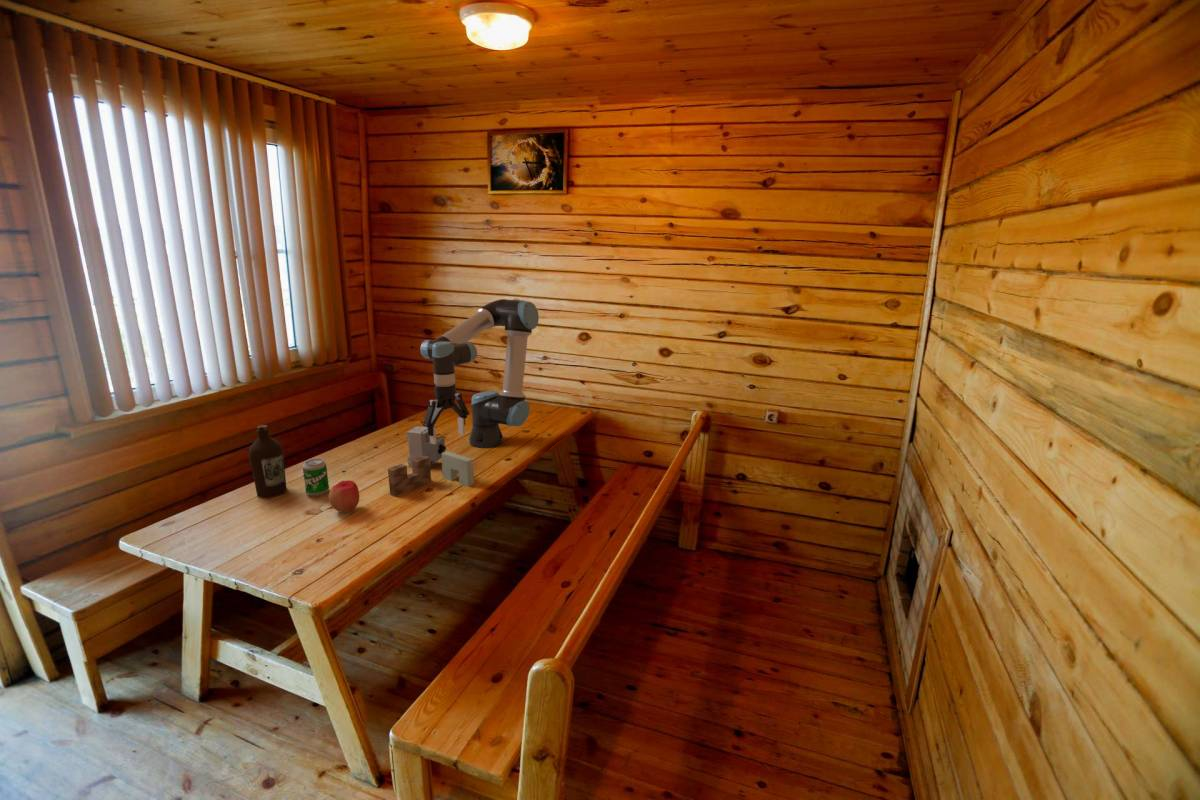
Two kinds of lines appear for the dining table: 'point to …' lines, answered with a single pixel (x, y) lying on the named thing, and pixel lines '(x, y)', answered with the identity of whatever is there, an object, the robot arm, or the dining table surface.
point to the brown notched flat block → (409, 476)
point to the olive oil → (267, 464)
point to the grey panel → (457, 468)
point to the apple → (344, 496)
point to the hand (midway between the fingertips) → (447, 438)
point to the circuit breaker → (424, 445)
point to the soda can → (315, 477)
